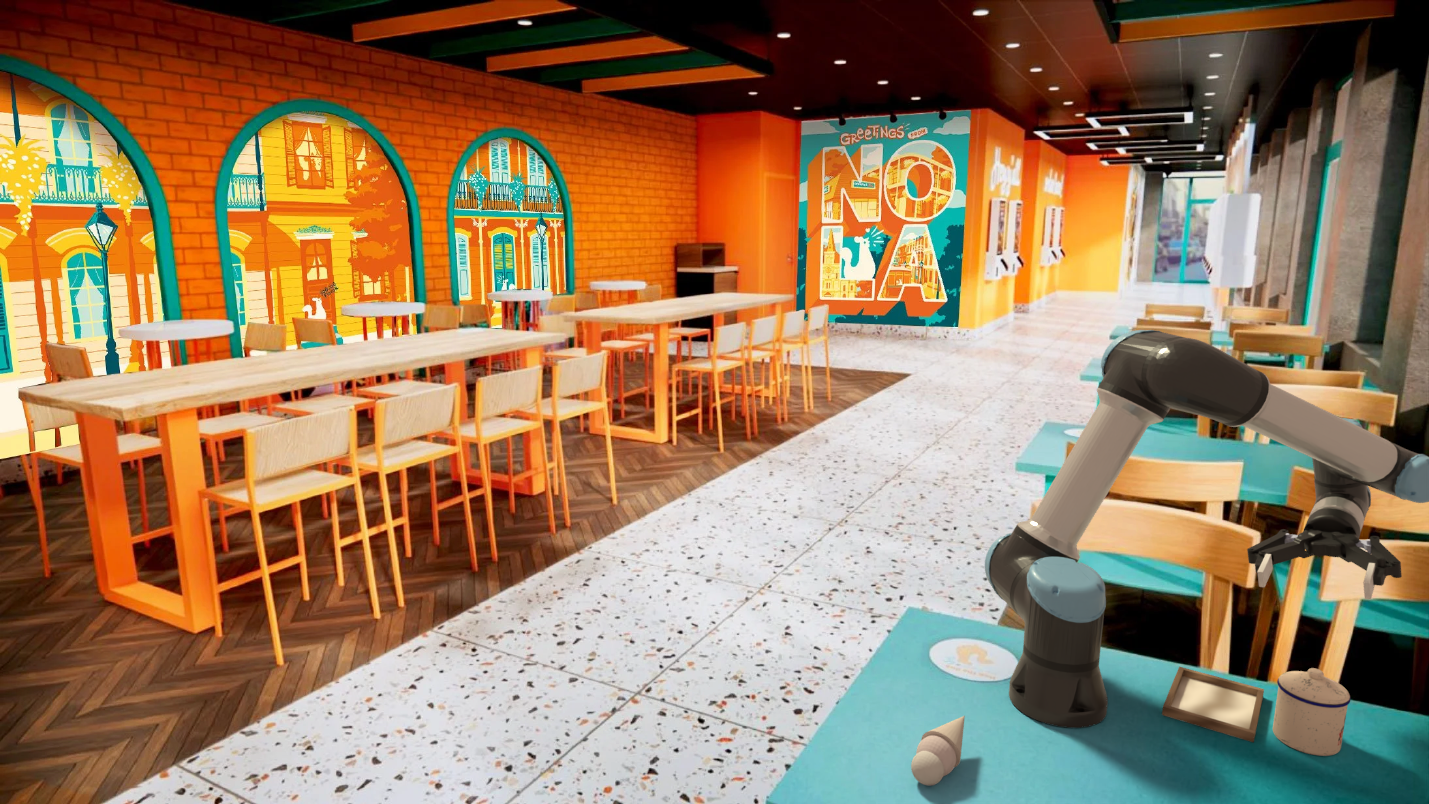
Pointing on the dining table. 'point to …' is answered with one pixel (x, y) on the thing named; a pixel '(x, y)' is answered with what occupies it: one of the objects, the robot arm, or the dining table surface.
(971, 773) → the dining table surface
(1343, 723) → the teacup with lid
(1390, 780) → the dining table surface
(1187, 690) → the walnut tray
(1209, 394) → the robot arm
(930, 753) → the ice cream cone
